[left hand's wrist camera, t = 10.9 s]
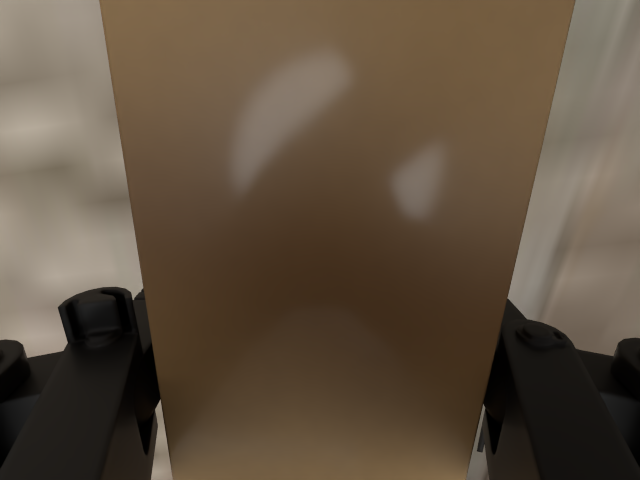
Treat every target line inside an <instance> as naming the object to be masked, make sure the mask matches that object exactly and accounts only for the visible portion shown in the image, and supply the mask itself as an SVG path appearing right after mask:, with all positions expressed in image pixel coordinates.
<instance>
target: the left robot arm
mask: <svg viewBox="0 0 640 480" xmlns="http://www.w3.org/2000/svg"><path fill="white" fill-rule="evenodd" d="M58 310H59V313H60V317H61V320H62V324H63V327H64V331H65V334H66V338H67V341H68V344H67V345H66V347H65V349H64V351H61V352H57V353H51V354H46V355H41V356H35V357H30V358H27V356H26V353H25V350H24V347H23V345H22V344H21V343H19V342H18V341H15V340H0V480H151V474H152V467H153V459H154V451H155V444H156V436H157V428H158V424H157V418H156V413H155V409H156V407H157V405H158V403H159V401H160V399H161V398H160V392H159V385H158V379H157V372H156V366H155V359H154V353H153V346H152V340H151V333H150V327H149V320H148V314H147V307H146V301H145V294H144V288H143V289H142V290H141V292H139V293H138V295H137V296H136V297H135V298H134V300H132V295H131V292H130V291H128V290H127V289H125V288H119V287H102V288H97V289H92V290H88V291H85V292H82V293H79V294H76V295H75V296H73V297H71V298H69V299H67V300H65V301H64V302H63V303H62V304H61V305H60V306H59V307H58ZM483 404H484V406H485V413H484V418H483V422H482V427H481V432H480V437H479V442H478V448H477V451H478V452H483V447H484V444H485V450H486V458H487V466H488V473H489V480H640V338H629V339H623V340H622V341H620V342H619V343H618V345H617V348H616V351H615V354H614V356H609V355H604V354H598V353H593V352H588V351H582V350H578V349H576V348H575V347H574V345H573V343H572V342H571V340H570V339H569V338H568V337H567V336H566V335H565V334H564V333H562V332H561V331H559V330H557V329H556V328H554V327H552V326H549V325H547V324H544V323H541V322H537V321H532V320H527V319H526V318H525V317H524V316H523V314H522V313H521V312H520V311H519V310H518V309H517V308H516V307H515V306H514V305H513V304H512V302H511V301H510V300H509V299H507V302H506V306H505V310H504V315H503V319H502V323H501V328H500V332H499V337H498V341H497V345H496V350H495V354H494V358H493V363H492V367H491V372H490V376H489V380H488V385H487V389H486V393H485V398H484V402H483Z"/></svg>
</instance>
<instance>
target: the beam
mask: <svg viewBox="0 0 640 480" xmlns="http://www.w3.org/2000/svg"><path fill="white" fill-rule="evenodd" d="M99 1H100V8H101V14H102V21H103V27H104V34H105V40H106V47H107V53H108V60H109V66H110V73H111V79H112V86H113V92H114V99H115V105H116V112H117V118H118V125H119V131H120V138H121V144H122V151H123V157H124V164H125V170H126V177H127V183H128V190H129V196H130V203H131V209H132V216H133V222H134V229H135V235H136V242H137V248H138V255H139V261H140V268H141V274H142V281H143V287H144V294H145V301H146V307H147V314H148V320H149V327H150V333H151V340H152V346H153V353H154V359H155V366H156V372H157V379H158V385H159V392H160V398H161V405H162V411H163V418H164V424H165V431H166V437H167V444H168V450H169V457H170V463H171V470H172V476H173V480H466V476H467V472H468V468H469V463H470V459H471V455H472V450H473V446H474V441H475V437H476V433H477V428H478V424H479V420H480V415H481V411H482V406H483V402H484V398H485V393H486V389H487V385H488V380H489V376H490V372H491V367H492V363H493V358H494V354H495V350H496V345H497V341H498V337H499V332H500V328H501V323H502V319H503V315H504V310H505V306H506V302H507V297H508V293H509V289H510V284H511V280H512V275H513V271H514V267H515V262H516V258H517V254H518V249H519V245H520V240H521V236H522V232H523V227H524V223H525V219H526V214H527V210H528V205H529V201H530V197H531V192H532V188H533V184H534V179H535V175H536V171H537V166H538V162H539V157H540V153H541V149H542V144H543V140H544V136H545V131H546V127H547V122H548V118H549V114H550V109H551V105H552V101H553V96H554V92H555V88H556V83H557V79H558V74H559V70H560V66H561V61H562V57H563V53H564V48H565V44H566V39H567V35H568V31H569V26H570V22H571V18H572V13H573V9H574V4H575V0H99Z"/></svg>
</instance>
